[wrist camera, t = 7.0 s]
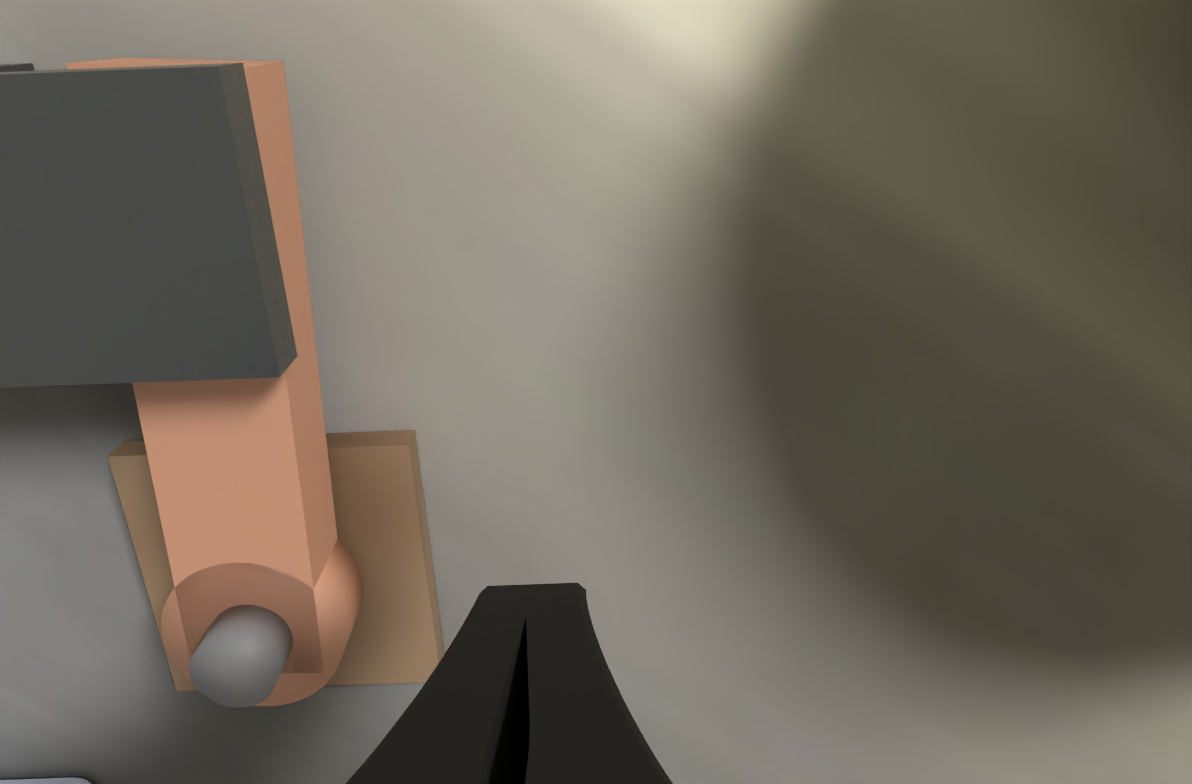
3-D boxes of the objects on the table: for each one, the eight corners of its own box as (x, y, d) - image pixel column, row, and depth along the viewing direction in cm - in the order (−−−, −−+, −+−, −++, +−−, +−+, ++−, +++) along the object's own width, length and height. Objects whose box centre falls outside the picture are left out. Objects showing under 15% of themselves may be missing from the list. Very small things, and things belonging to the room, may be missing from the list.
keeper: (9, 304, 19) (-169, 393, 15) (-68, 66, 17) (-299, 86, 13) (351, 291, 19) (279, 377, 15) (314, 52, 17) (218, 66, 13)
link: (369, 649, 22) (336, 747, 19) (211, 648, 22) (153, 745, 19) (309, 62, 16) (250, 72, 14) (97, 57, 16) (-9, 66, 13)
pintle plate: (188, 670, 24) (176, 691, 23) (124, 441, 21) (107, 456, 20) (445, 660, 24) (441, 681, 23) (414, 430, 21) (408, 445, 20)
